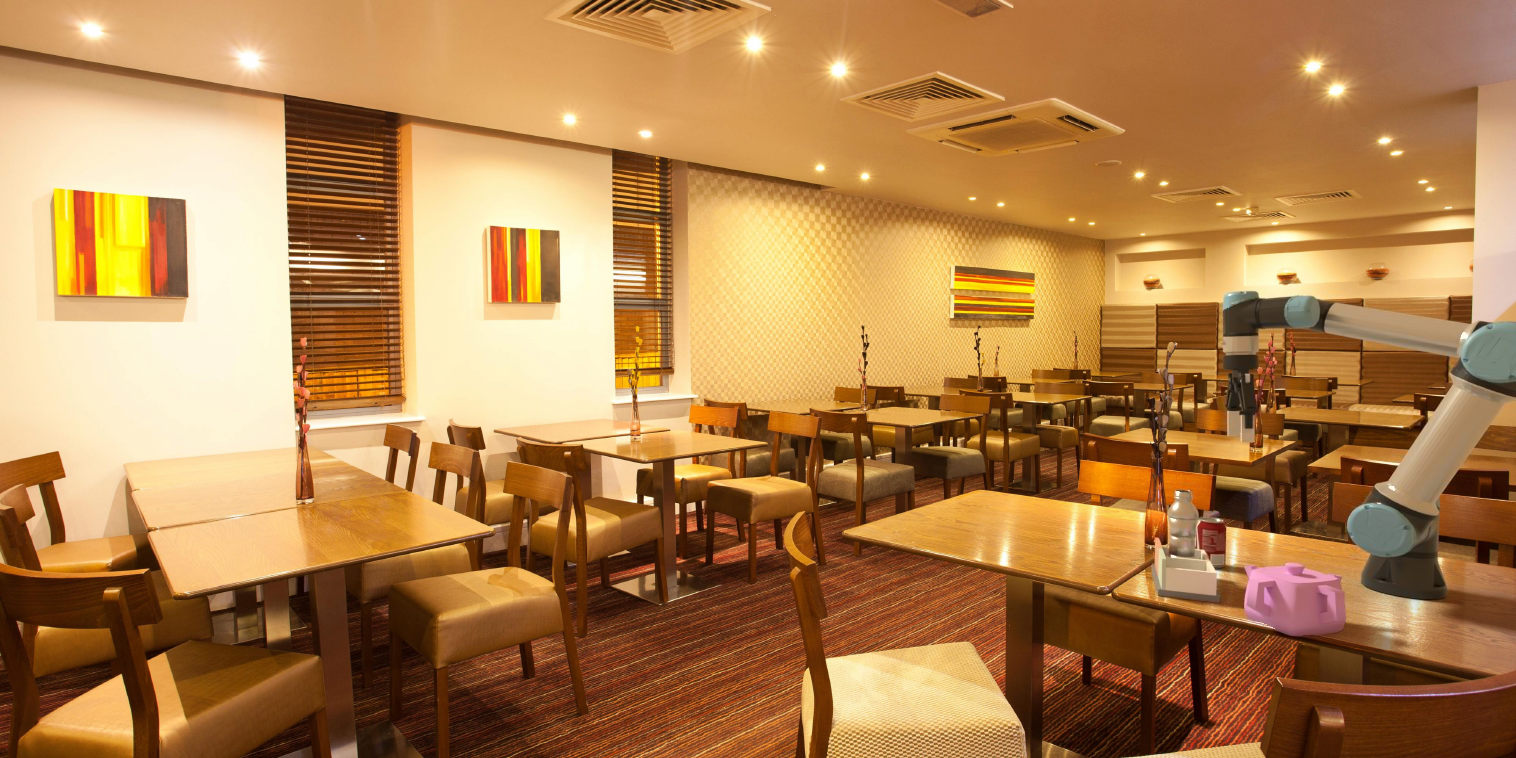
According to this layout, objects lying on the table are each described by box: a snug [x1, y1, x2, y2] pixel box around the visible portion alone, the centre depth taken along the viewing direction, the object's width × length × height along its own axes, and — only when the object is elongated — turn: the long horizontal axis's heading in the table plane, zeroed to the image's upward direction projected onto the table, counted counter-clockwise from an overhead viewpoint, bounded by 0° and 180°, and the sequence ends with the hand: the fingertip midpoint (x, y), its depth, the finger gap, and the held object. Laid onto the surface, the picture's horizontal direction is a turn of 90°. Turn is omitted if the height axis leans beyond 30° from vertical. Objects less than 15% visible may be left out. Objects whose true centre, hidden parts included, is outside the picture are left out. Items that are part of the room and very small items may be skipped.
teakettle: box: [1243, 562, 1347, 637], centre depth 154 cm, size 17×17×12 cm
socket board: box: [1150, 537, 1221, 604], centre depth 178 cm, size 12×20×8 cm, turn 156°
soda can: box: [1195, 516, 1227, 570], centre depth 194 cm, size 7×7×12 cm
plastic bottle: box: [1167, 489, 1199, 559], centre depth 182 cm, size 6×7×20 cm
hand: (1240, 439), depth 189 cm, fingers open, 13 cm apart
